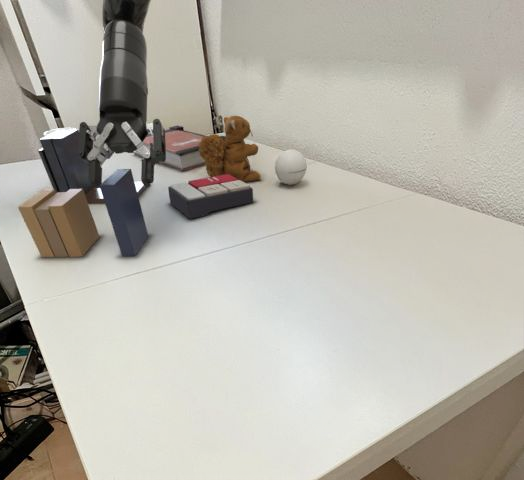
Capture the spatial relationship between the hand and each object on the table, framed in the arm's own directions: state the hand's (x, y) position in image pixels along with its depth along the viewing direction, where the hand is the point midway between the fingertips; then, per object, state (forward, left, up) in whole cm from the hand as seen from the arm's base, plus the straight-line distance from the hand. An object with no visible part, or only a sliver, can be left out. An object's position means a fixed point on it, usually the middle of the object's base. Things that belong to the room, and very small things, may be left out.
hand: (120, 185), depth 63 cm
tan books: (-12, +1, -10) cm, 16 cm away
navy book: (0, -1, -10) cm, 10 cm away
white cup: (-24, +50, -11) cm, 56 cm away
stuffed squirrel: (+19, +33, -11) cm, 39 cm away
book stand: (-12, +29, -10) cm, 33 cm away
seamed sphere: (+34, +25, -11) cm, 43 cm away
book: (+5, +57, -10) cm, 58 cm away
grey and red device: (+14, +17, -11) cm, 24 cm away
